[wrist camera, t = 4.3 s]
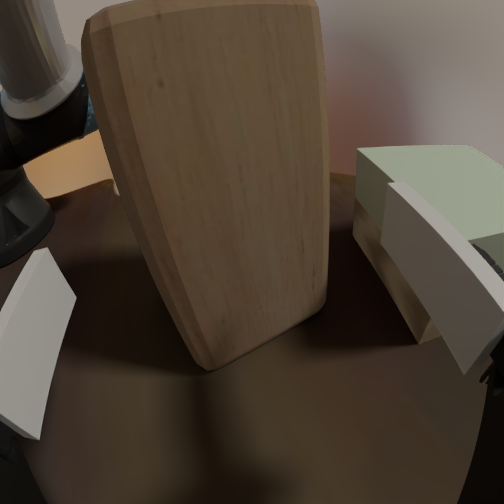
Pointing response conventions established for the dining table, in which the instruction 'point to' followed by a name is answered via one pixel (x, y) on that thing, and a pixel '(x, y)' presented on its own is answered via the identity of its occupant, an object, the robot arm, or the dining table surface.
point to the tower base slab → (392, 276)
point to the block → (219, 159)
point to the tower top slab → (440, 188)
